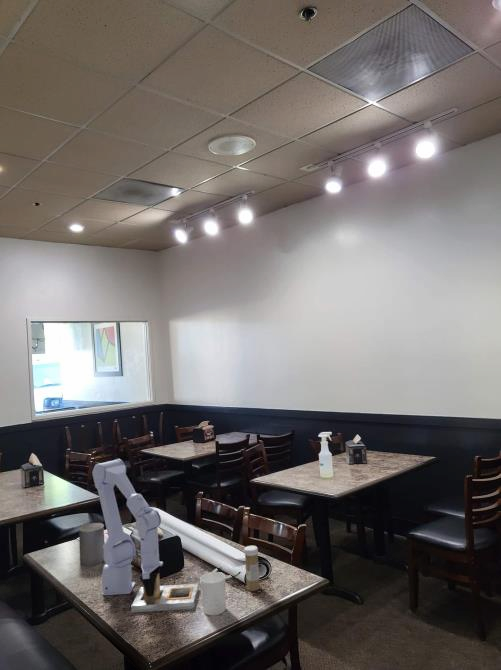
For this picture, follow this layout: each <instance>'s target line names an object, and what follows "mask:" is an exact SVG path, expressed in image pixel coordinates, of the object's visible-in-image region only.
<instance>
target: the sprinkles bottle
mask: <svg viewBox="0 0 501 670" xmlns="http://www.w3.org/2000/svg"><path fill="white" fill-rule="evenodd" d="M243 551H244V552H243V553H244V557H245V559H244V560H245V578H246V579H245V580H246V590H247V591H250V592H254V591H257V590H259V589H260V588H261V585H260V570H259V568H260V567H259V557H258V555H259V554H258V553H259V549H258V547H257V546H256V545H247V546H246V547H244V549H243Z"/></svg>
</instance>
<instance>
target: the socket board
mask: <svg viewBox="0 0 501 670" xmlns="http://www.w3.org/2000/svg"><path fill="white" fill-rule="evenodd" d="M198 594H199V583H186V584H172V585H171V584H169V585H167V584H166V585H160V599H158V600H144V592H143V586H141V587H139V590H138V592H137V594H136V595H135V598H134V600H133V602H132V603H131V605H130V606H131V608H130V611H131V612H130V613H133V614H134V613H146V612H149V613H150V612H161V611H162V612H166V611H179V610H180V611H182V610H194V609H195V605H196V601H197V597H198ZM174 596H179V597H174ZM181 596H183V597H181ZM184 596H185V597H184Z"/></svg>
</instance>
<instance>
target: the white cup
mask: <svg viewBox="0 0 501 670" xmlns="http://www.w3.org/2000/svg"><path fill="white" fill-rule="evenodd" d="M225 575H226V574H225V573H223V572H219V571H217V572H212V571H210V572H209V571H208V572H205V573H204V574H202V575H201V576H200V577H199V580H200V583H201V585H200V593H201V601H202V607H203V608H202V609H203V612H204V614H205V615H208V616H219V615H221V614H223V613H225V611H226V600H227V599H226V598H227V596H226V585H227V584H226V580H225Z"/></svg>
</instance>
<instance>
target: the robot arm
mask: <svg viewBox="0 0 501 670" xmlns="http://www.w3.org/2000/svg"><path fill="white" fill-rule="evenodd" d="M91 473H92V477H93V483H94V485H95V487H94V488H95V489H97V492H98V493H97V494H98V498H99V501H100V502H99V503H100V505H101V510H102V514H103V519H104V522H105V524H104V525H105V528H106V531H107V537H108V538H107V539H106V541H105V543H104V545H103V549H104V561H103V562H104V563H105V564H104V565H103V568H102V575H101V579H102V594H101V595H102V596H111V595H113V596H114V595H115V596H116V595H129V594H131V593H132V591H133V589H134V588H135V585H136V582H135V581H133V577H132V576H133V575H132V562H133V561H134V560H133V558H134V557H135V556H136V551H137V550H136V546H135V543H134V542H133V539H132V536H131V535H130V534H128V533H126V532H124V529H123V528H124V527H123V524H122V519H121V516H120V511H119V507H118V503H117V499H116V495H115V490H114V487H115V486H116V487H117V488H118V489H119V491H120V493H121V494H122V495H123V496H124V497H125V498H126V507H127V508H128V509H129V511H130V513H131V515H133V517H134V519H135V520H136V522H135V527H136V530H137V533H138V537H139V539H140V557H141V558H140V560H141V561H140V563H141V564H140V568H141V570H142V573H140V574H139V580H140V581H141V582H142V586H143V585H144V588H145V592H146V595H147V596H153V595H154V589H155V581H156V577H157V575H158V574H154V573H159V574H160V570H161V569H162V566H163V565H164V562H163V561H160V553H159V552H160V551H159V550H160V549H159V535H158V534H159V532H158V528H159V527H160V526H161V523H162V518H161V514H160V512H159V511H158V510H157V509H154V508H153V507H150V505H149V504H148V502H147V501H146V500H145V498H144V497H143V495H142V494H141V493H137V492H136V490H135V488H134V486H133V485H132V483H131V482H130V479H129V478H128V476H127V474H126V473H127V466H126V465H125V463H124V461H123V460H122V459H120V458H115V459H113V460H108V461H105V462H101V463H96V464H95V465H94V467H93V470H92V472H91Z"/></svg>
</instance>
